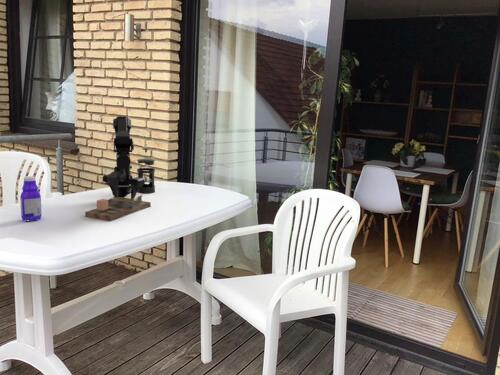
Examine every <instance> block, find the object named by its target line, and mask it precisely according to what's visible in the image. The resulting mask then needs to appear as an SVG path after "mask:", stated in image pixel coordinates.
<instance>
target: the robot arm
mask: <svg viewBox="0 0 500 375" xmlns="http://www.w3.org/2000/svg"><path fill="white" fill-rule="evenodd" d="M112 129H114V135H115V136H114V137H113V152H114V153H115V154H116V155H115V156H116V158H115V160H116V161H115V162H116V165H115V166H114V168H113V171H111V172H110V173H108V174H104V175H103V176H102V183H104V184H105V185H107V186H109V188H110V190H111V192H112V196H113V197H114V198H116V197H123V198H124V197H125V195H127V194H130V193H131V200H134V198H135V196H136V193H138V192H137V191H138V190H139V188H140V186H142V185H144V184H146V182H145V180H144V178H145V177H143V178H139V177H138V176H136V177H133V175H132V172H131V169H133V166H132V165H131V153H133V151H134V150H135V149H134V148H135V147H134V139H133V138H132V137H131V133H130V132H131V129H132V120H131V119H130V118H129V117H128V116H122V115H119V116H116V117H115V118H113V119H112Z"/></svg>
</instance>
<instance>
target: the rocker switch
mask: <svg viewBox="0 0 500 375" xmlns="http://www.w3.org/2000/svg"><path fill="white" fill-rule="evenodd" d="M139 196H142V197H144V194H142V193H138V192H137V193H136V196H135V198H134V199H136V200H138V197H139ZM124 198H129V199H131V193H130V194H128V195H127V196H126V197H124Z"/></svg>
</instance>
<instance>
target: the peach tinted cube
mask: <svg viewBox="0 0 500 375" xmlns="http://www.w3.org/2000/svg"><path fill="white" fill-rule="evenodd" d="M96 208H97V210H106V209H108V199H105V198H101V199H97V200H96Z"/></svg>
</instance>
